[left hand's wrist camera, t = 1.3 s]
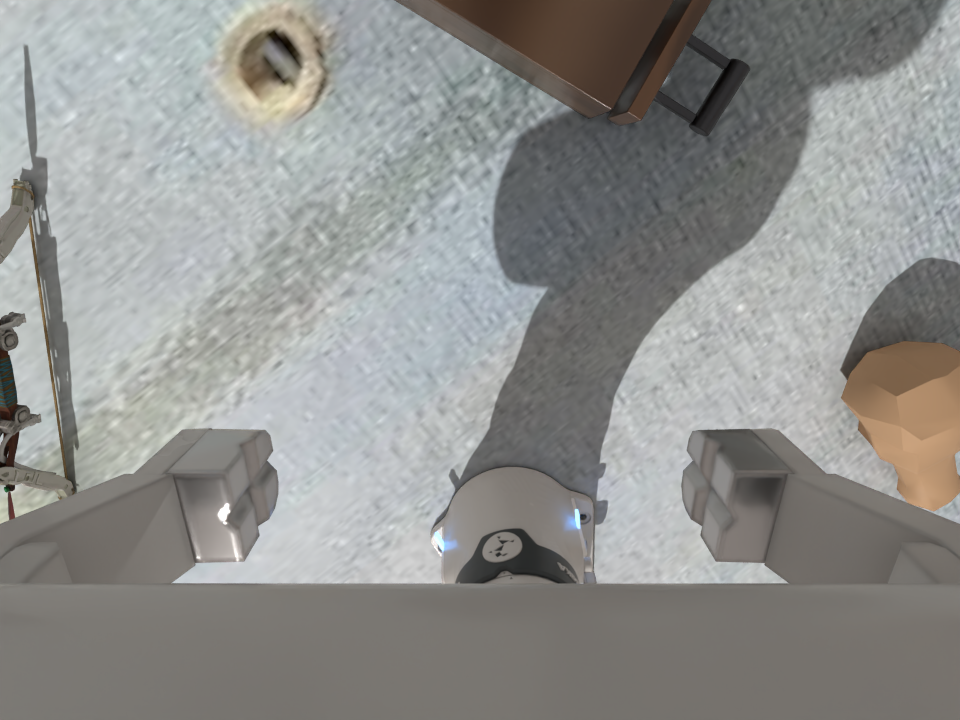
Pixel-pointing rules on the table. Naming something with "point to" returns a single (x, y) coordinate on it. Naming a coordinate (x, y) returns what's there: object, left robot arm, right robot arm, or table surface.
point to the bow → (3, 408)
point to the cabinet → (556, 41)
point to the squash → (912, 416)
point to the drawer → (660, 61)
